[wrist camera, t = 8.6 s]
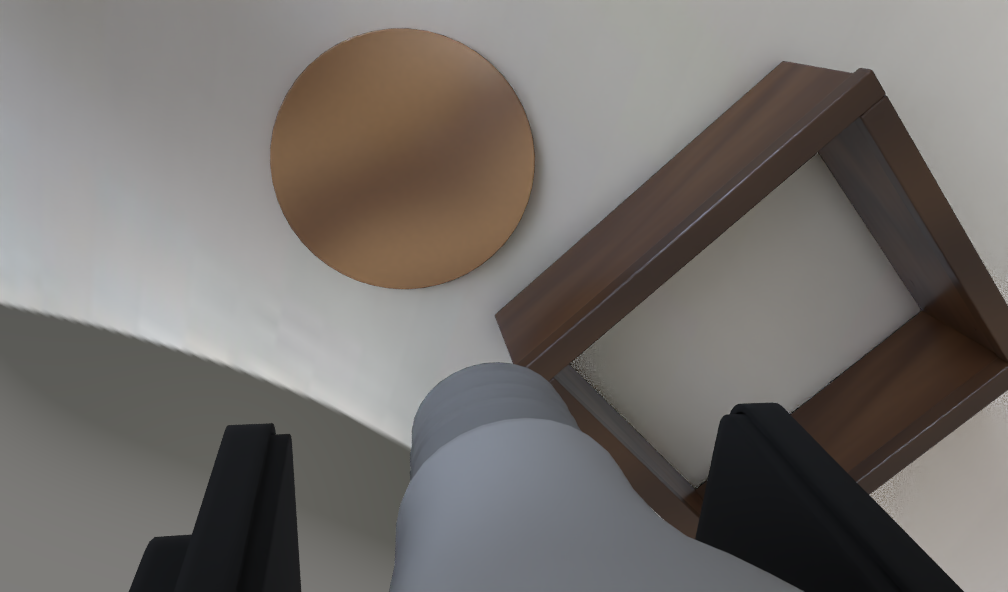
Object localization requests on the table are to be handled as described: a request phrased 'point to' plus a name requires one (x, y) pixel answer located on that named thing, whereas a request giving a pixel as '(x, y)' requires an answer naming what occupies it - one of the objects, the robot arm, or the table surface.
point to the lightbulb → (536, 503)
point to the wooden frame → (724, 200)
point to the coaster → (402, 158)
